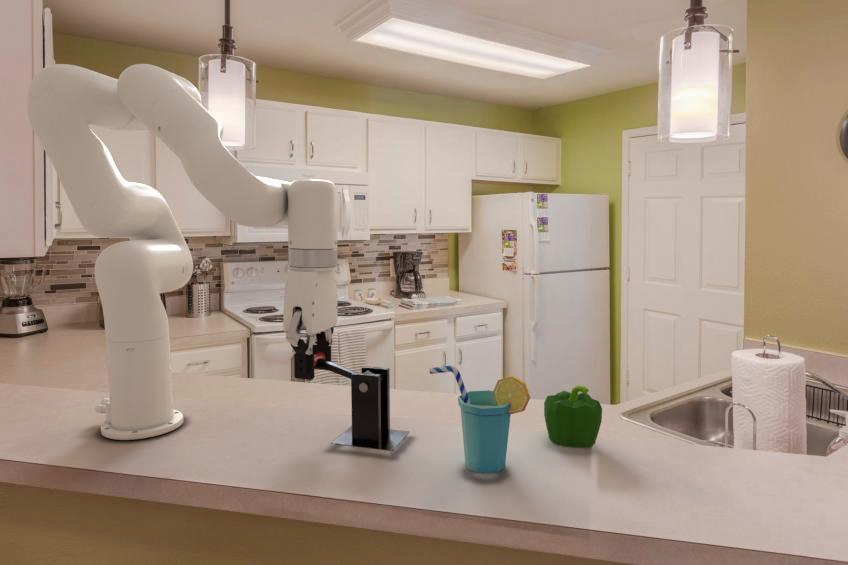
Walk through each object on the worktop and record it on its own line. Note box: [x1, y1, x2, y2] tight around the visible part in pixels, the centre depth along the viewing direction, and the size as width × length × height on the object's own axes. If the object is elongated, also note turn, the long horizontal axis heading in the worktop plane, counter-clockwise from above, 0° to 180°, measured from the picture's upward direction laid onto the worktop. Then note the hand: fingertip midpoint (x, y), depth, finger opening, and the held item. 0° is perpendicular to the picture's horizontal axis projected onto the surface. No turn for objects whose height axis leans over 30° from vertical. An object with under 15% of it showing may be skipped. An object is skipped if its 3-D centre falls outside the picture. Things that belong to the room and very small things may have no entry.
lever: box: [314, 352, 383, 387], centre depth 90 cm, size 12×5×2 cm, turn 75°
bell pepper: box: [543, 385, 603, 449], centre depth 88 cm, size 8×8×10 cm
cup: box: [428, 364, 531, 475], centre depth 79 cm, size 14×8×15 cm, turn 76°
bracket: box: [331, 365, 410, 452], centre depth 89 cm, size 10×8×12 cm
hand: (313, 372), depth 91 cm, fingers closed on lever, 5 cm apart
